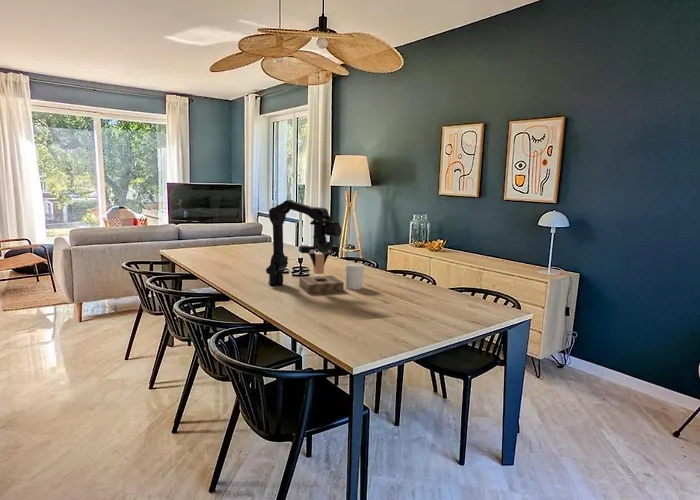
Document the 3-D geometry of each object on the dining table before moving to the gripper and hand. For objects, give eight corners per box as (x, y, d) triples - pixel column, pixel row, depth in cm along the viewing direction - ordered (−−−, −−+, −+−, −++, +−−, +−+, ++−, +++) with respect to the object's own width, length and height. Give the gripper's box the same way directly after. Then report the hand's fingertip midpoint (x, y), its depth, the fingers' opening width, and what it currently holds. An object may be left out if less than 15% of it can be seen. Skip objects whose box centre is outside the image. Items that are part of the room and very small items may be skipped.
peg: (315, 273, 208) (316, 255, 207) (313, 272, 212) (313, 253, 210) (323, 273, 210) (324, 255, 208) (321, 271, 213) (321, 253, 212)
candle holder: (340, 288, 222) (341, 265, 220) (349, 284, 230) (350, 262, 228) (357, 291, 217) (358, 267, 215) (366, 287, 226) (367, 264, 224)
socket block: (308, 294, 208) (308, 284, 208) (299, 285, 223) (299, 277, 222) (343, 291, 215) (343, 282, 214) (332, 283, 230) (332, 275, 229)
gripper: (304, 237, 197) (304, 271, 200) (343, 236, 203) (342, 269, 206) (299, 233, 207) (298, 265, 210) (336, 233, 214) (335, 264, 216)
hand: (318, 266), depth 210 cm, fingers closed on peg, 4 cm apart
